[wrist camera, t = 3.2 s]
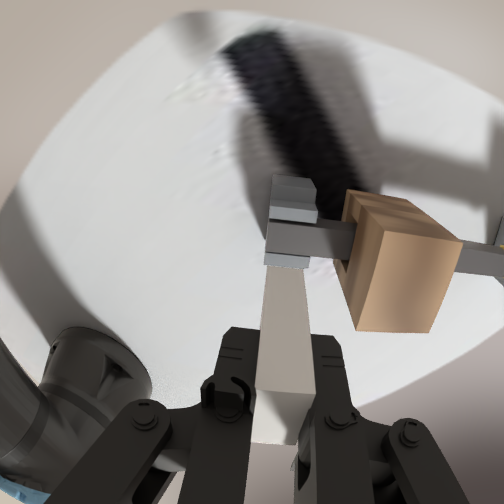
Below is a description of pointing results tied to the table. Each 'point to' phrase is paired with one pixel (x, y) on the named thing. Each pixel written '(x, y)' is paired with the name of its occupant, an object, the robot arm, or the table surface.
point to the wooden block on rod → (395, 264)
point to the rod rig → (342, 233)
